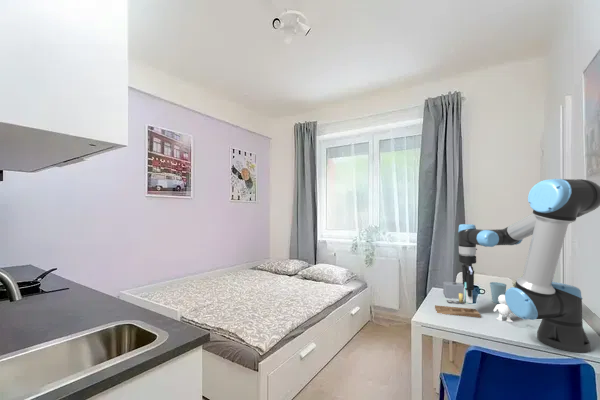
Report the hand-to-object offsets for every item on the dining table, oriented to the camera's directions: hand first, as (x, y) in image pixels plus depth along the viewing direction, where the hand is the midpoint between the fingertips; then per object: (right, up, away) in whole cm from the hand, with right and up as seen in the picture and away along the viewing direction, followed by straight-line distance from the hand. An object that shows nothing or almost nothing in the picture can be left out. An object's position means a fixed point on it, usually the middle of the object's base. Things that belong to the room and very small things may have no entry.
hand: (468, 301), depth 141 cm
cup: (+27, -7, +16) cm, 32 cm away
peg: (0, -1, 0) cm, 1 cm away
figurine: (+11, -6, -9) cm, 16 cm away
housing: (+8, -7, +27) cm, 29 cm away
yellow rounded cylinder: (+3, -7, +17) cm, 18 cm away
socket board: (-5, -6, +1) cm, 8 cm away
